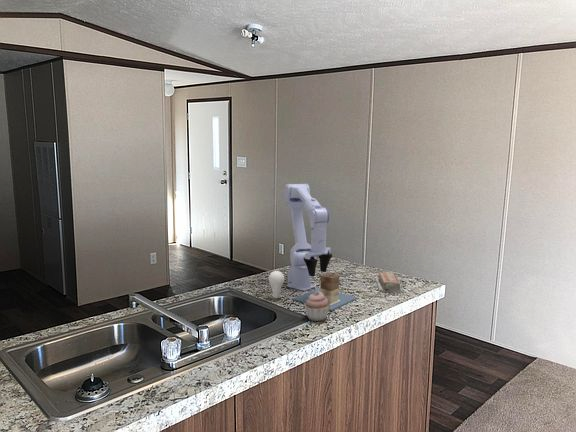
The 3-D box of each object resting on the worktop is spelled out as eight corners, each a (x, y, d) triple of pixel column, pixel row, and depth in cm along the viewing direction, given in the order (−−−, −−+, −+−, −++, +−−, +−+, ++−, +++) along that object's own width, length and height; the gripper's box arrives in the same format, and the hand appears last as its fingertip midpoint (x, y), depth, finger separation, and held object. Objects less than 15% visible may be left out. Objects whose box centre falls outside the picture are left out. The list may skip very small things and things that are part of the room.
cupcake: (298, 318, 167) (298, 290, 165) (314, 311, 174) (315, 284, 172) (319, 325, 161) (320, 297, 159) (335, 317, 167) (336, 290, 166)
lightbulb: (274, 294, 191) (275, 268, 189) (287, 298, 187) (287, 270, 186) (265, 298, 186) (265, 271, 184) (277, 302, 182) (278, 274, 181)
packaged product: (405, 282, 195) (380, 281, 196) (404, 293, 196) (379, 293, 197) (398, 270, 213) (375, 269, 214) (397, 280, 214) (375, 280, 214)
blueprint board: (293, 300, 185) (293, 298, 185) (320, 289, 199) (320, 287, 199) (331, 311, 174) (331, 309, 174) (357, 298, 188) (357, 297, 187)
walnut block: (320, 288, 182) (320, 275, 181) (327, 285, 185) (328, 272, 185) (331, 291, 178) (331, 278, 178) (338, 288, 182) (339, 275, 181)
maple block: (320, 301, 182) (320, 288, 182) (327, 297, 186) (327, 285, 185) (330, 304, 179) (331, 291, 178) (338, 300, 183) (338, 288, 182)
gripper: (315, 244, 175) (314, 280, 177) (337, 238, 186) (336, 271, 188) (300, 241, 179) (299, 276, 181) (323, 235, 190) (322, 268, 192)
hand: (317, 273), depth 185 cm, fingers open, 7 cm apart
